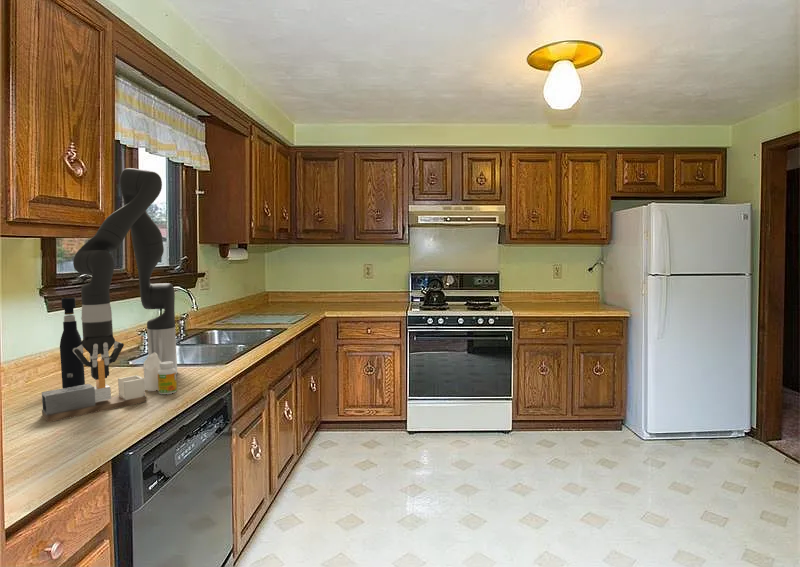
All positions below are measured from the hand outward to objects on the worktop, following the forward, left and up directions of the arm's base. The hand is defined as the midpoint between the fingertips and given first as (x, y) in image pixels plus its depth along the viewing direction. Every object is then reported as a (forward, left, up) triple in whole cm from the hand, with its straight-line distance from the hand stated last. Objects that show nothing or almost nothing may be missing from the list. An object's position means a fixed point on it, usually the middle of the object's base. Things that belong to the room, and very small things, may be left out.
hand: (100, 378), depth 153 cm
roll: (-19, +8, -9) cm, 22 cm away
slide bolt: (+3, -4, -6) cm, 8 cm away
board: (+1, -1, -9) cm, 9 cm away
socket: (-5, +6, -7) cm, 11 cm away
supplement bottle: (-14, +14, -9) cm, 21 cm away
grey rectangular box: (+5, -6, -7) cm, 11 cm away
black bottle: (-24, -20, -9) cm, 32 cm away
